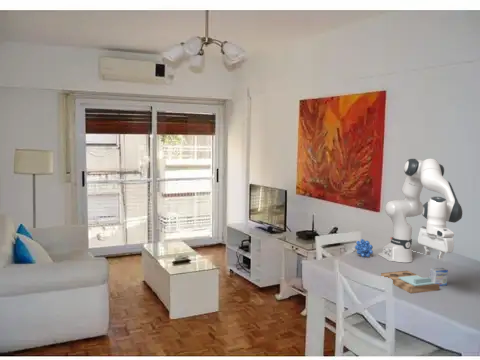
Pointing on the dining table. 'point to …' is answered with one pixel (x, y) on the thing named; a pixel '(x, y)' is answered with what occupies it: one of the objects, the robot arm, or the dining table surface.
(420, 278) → the lid
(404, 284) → the puzzle board
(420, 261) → the dining table surface
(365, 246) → the grapes
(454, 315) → the dining table surface
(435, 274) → the medicine box
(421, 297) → the dining table surface
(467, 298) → the dining table surface
